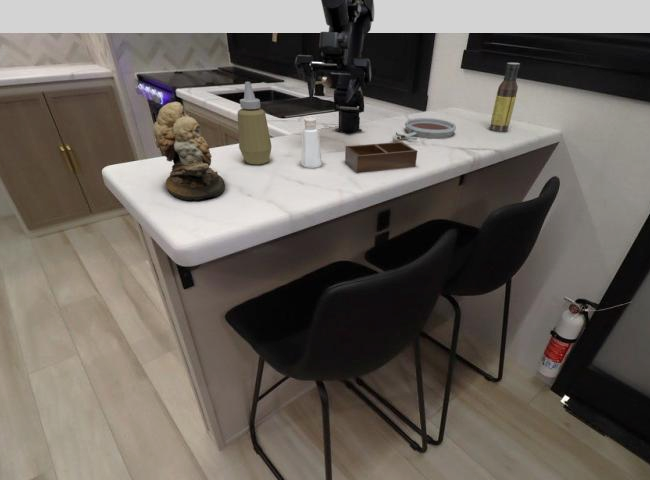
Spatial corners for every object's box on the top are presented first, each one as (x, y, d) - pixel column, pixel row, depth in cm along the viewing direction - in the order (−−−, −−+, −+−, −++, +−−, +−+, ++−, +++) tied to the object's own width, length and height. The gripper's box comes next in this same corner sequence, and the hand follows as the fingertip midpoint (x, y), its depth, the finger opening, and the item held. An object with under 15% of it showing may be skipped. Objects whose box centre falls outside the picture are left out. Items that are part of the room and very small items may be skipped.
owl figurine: (237, 196, 80) (223, 107, 69) (180, 208, 74) (154, 114, 64) (210, 170, 91) (194, 91, 81) (159, 179, 86) (134, 95, 75)
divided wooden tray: (345, 162, 100) (345, 146, 97) (400, 156, 104) (402, 141, 102) (357, 172, 93) (357, 156, 91) (415, 166, 98) (417, 150, 96)
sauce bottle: (501, 127, 134) (518, 61, 122) (511, 132, 130) (529, 64, 117) (485, 127, 133) (500, 61, 121) (494, 132, 128) (511, 64, 116)
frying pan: (372, 128, 118) (424, 114, 134) (372, 138, 120) (423, 123, 136) (416, 140, 109) (466, 123, 125) (415, 150, 111) (464, 132, 127)
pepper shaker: (313, 169, 94) (312, 122, 87) (296, 165, 96) (293, 118, 89) (326, 164, 98) (325, 118, 91) (309, 159, 100) (307, 114, 93)
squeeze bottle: (279, 159, 99) (272, 81, 88) (261, 168, 93) (251, 86, 82) (254, 154, 102) (244, 78, 91) (234, 163, 96) (221, 82, 85)
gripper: (294, 14, 89) (283, 76, 88) (372, 17, 87) (362, 80, 85) (305, 50, 100) (295, 105, 99) (375, 54, 97) (366, 110, 96)
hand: (328, 100), depth 94 cm, fingers open, 9 cm apart
